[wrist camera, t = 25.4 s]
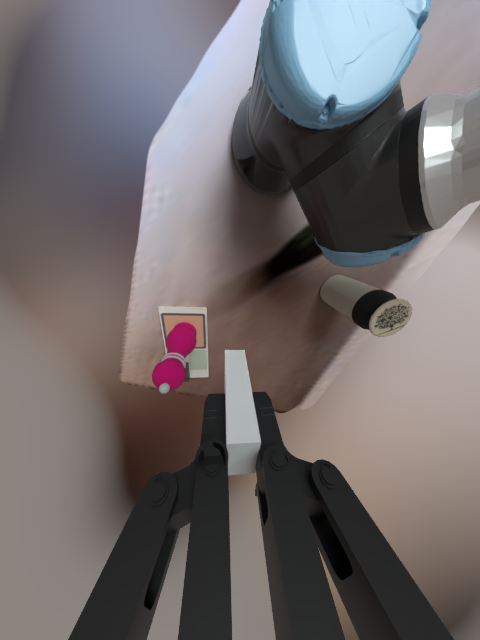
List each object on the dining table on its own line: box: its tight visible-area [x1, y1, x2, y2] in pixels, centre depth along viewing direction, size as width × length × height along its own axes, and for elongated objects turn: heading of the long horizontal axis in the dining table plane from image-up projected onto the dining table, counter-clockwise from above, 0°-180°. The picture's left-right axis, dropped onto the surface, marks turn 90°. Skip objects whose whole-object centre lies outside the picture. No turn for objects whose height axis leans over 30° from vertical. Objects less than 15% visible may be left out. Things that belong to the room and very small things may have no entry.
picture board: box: [158, 306, 209, 381], centre depth 49 cm, size 12×24×3 cm, turn 177°
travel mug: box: [320, 275, 412, 337], centre depth 39 cm, size 8×8×18 cm
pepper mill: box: [152, 322, 197, 394], centre depth 39 cm, size 7×7×20 cm
